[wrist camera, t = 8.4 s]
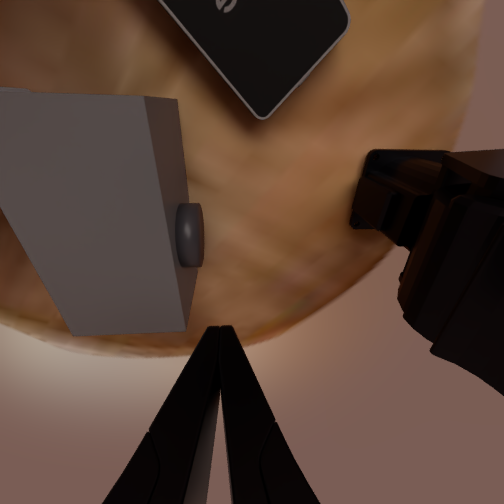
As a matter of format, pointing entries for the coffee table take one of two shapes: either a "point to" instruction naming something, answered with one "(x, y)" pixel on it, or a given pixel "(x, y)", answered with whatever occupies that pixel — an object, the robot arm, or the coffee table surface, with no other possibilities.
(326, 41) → the external hard drive
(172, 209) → the block
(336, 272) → the coffee table surface
